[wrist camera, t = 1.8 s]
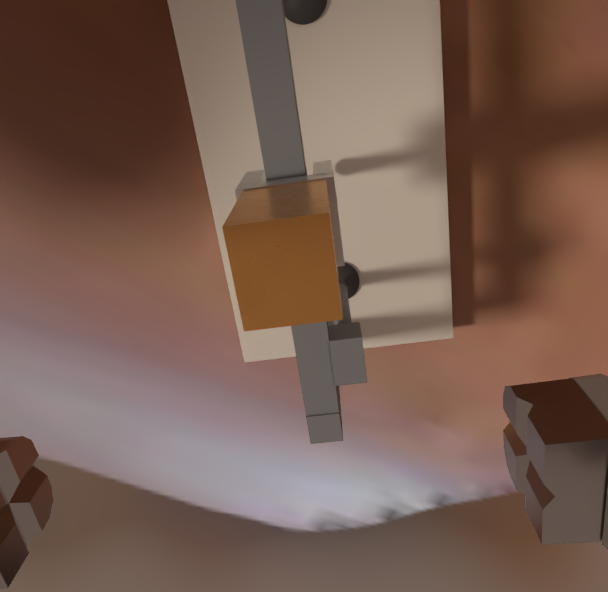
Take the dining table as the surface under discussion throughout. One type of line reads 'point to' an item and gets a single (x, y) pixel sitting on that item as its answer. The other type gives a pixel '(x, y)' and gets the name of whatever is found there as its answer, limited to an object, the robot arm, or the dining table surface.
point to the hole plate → (345, 162)
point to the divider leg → (286, 249)
